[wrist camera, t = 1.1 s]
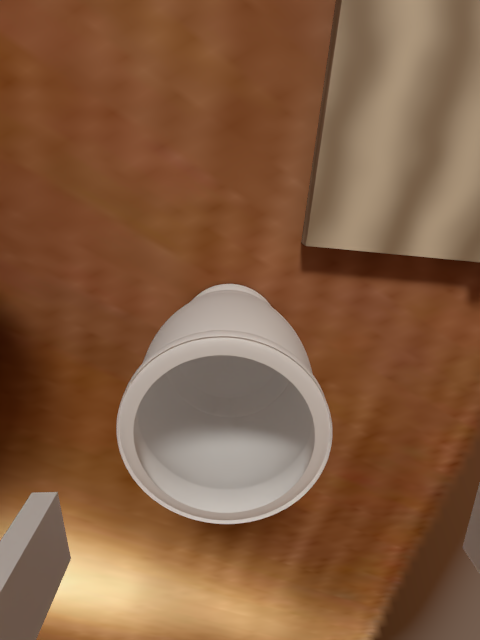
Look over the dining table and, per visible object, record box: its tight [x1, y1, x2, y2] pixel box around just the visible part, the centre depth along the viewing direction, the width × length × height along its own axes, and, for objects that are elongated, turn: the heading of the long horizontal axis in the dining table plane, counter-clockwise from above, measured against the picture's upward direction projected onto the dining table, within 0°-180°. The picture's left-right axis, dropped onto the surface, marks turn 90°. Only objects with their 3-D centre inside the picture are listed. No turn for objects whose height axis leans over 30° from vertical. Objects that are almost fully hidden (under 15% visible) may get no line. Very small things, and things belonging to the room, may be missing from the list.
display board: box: [301, 0, 480, 262], centre depth 25 cm, size 15×18×3 cm
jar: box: [117, 284, 332, 524], centre depth 25 cm, size 11×10×15 cm
